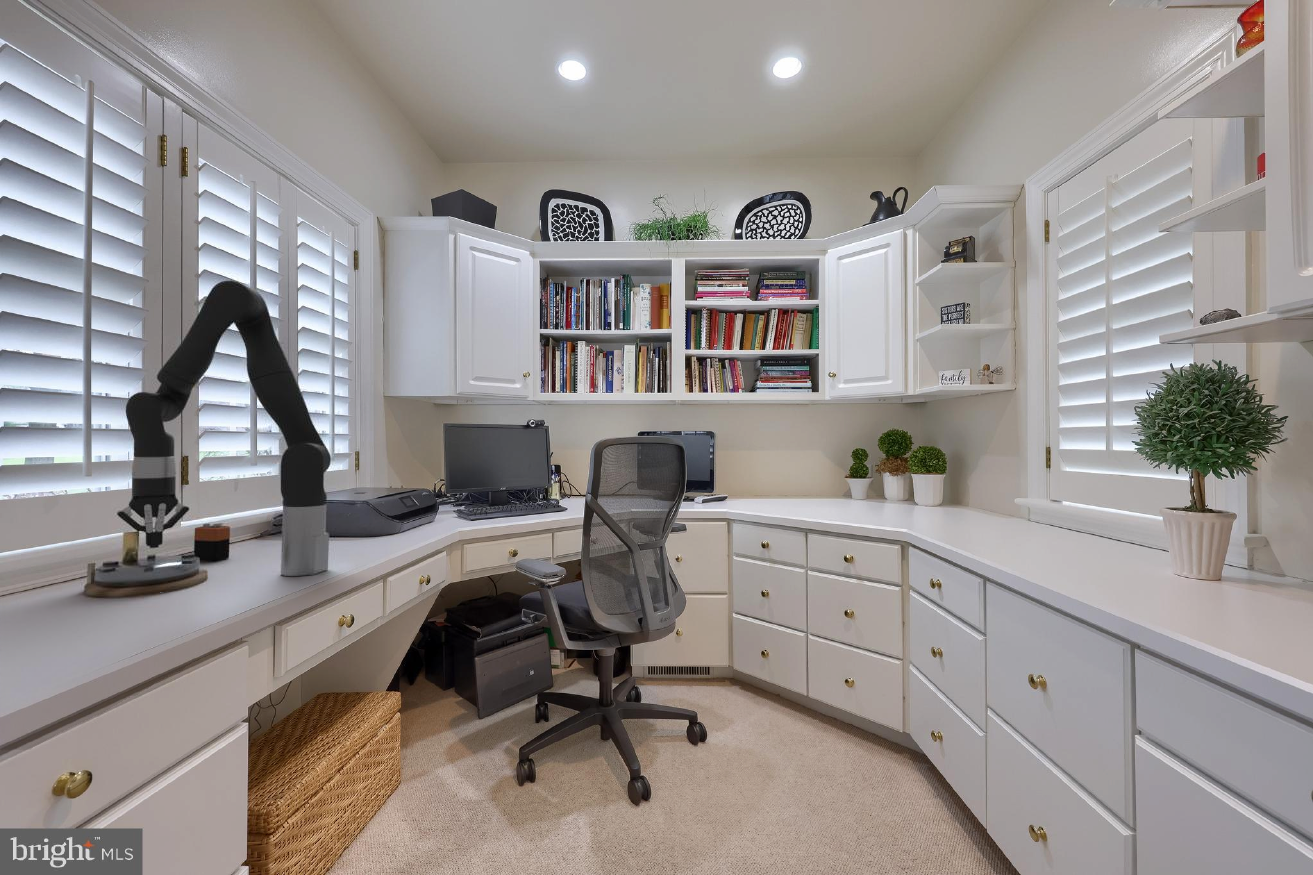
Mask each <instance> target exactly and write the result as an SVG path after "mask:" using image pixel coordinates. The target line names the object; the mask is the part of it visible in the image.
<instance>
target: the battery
mask: <svg viewBox="0 0 1313 875" xmlns="http://www.w3.org/2000/svg"><path fill="white" fill-rule="evenodd" d="M230 533H231V527H230V526H229V525H224V523H221V522H219V523H212V524H211V523H203V524H202V526H198V527H197V526H196V527H194V541H193V542H194V543H193V544H194V545H193V554H195V557H198V558H200V562H211V561H212V562H215V563H216V562H219V561H224V560H228V559H229V558H230V535H231V534H230Z"/></svg>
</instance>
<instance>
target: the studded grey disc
mask: <svg viewBox="0 0 1313 875" xmlns="http://www.w3.org/2000/svg"><path fill="white" fill-rule="evenodd" d="M139 542H140V531H136V530H133V531H132V530H131V531H123V533H122V552H121V553H122V556H121V559H122V560H121V561H120V560H119V561H118V560H115V561H114V560H113V561H111V560H108V561H105V562H102V565H100V566H97V568H96V567H95V585H97V586H101V587H133V586H144V585H152V584H159V583H165V582H171V581H176V580H180V579H184V578H188V577H191V576H194V575H196V574H198V573H199V568H201V567H200V562H201V561H200V558H198V557H195V554H194V553H188V554H187V553H185V554H181V555H163V556H157V554H156V553H155V554H147V556H146V557H140V558H139V548H140V543H139Z"/></svg>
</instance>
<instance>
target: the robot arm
mask: <svg viewBox="0 0 1313 875" xmlns="http://www.w3.org/2000/svg"><path fill="white" fill-rule="evenodd" d="M233 324H234V325H235V327H236V329H237V331H238V332H239V334H240V337H241V339H242V341H243V343H244V346H245V353H246V373H247V377H248V379H249V381H250V382H249V383H250V384H251V386H252V388H253V391H254V394H255V396H256V397H257V399H258V402H259V403H260V404H261V405H262V408H264V410H265V411H266V413H267V415H269V416H270V418H271V419H272V420H273V421H274V423H275V425H277V427H278V428H279V430H280V432H281V433H282V436H283V439H284V441H285V443H286V446H287V448H286V449H285V450H284V451H283V453H282V457H281V458H280V460H281V461H280V493H281V497H282V522H281V523H282V524H281V525H282V526H281V552H280V553H281V554H280V560H281V561H280V575H281V576H286V577H300V576H308V575H310V576H314V575H317V574H319V573H322V572H325V571H326V570H329V550H330V548H329V546H330V534H329V532H327V531H326V529H327V528H326V524H327V523H326V522H327V500H328V499H327V498H328V497H327V493H326V490H325V486H324V484H325V483H324V479H325V478H324V476H325V475H324V474H325V472H327V471H328V470H329V467H330V465H331V460H332V458H331V454H330V451H329V449H328V448H327V446H326V444H325V443H324V441H323V439H322V438H321V436H320V434H319V433H318V430H317V429H316V427H315V424H314V423H313V420H312V418H311V415H310V413H309V410H308V406H307V403H306V401H305V399H304V396H303V394H302V390H301V389H300V386H299V383H298V381H297V378H296V375H295V373H294V371H293V369H292V367H291V366H290V364H289V361H288V358H287V356H286V354H285V351H284V350H283V347H282V346H281V344H280V342H279V339H278V336H277V335H276V332H275V328H274V325H273V323H272V318H271V314H270V312H269V309H268V305H267V302H266V301H265V298H264V297H263V295H261V293H259V292H258V291H257V290H255V289H253V288H252V287H250V286H247V285H245V284H243V283H241V282H239V281H236V280H223V281H220V282H218V283H216V284H215V285H214V286H213V287H212V288H211V290H209V293H208V295H207V296H206V299H204V302H203V305H202V306H201V308H200V310H199V312H198V313H197V316H196V318H195V320H194V321H193V323H192V324H191V325H192V326H190V328H189V330H188V332H187V333H186V334H185V337H184V339H183V340H182V342H181V343H180V344H179V345H178V347H177V348H176V349H175V350H174V352H173V353H172V355H171V356H170V357H169V359H168V360H167V361H166V362H165V363H164V365H163V366H162V367H161V368H160V370H159V371H158V373H157V375H156V379H157V381H158V382H159V383H160V384H159V387H158V389H157V390H156V392H151V391H139V392H136V393H134V394H133V395H131V396H130V398H128V400H127V402H126V405H125V416H126V419H127V422H128V426H129V430H130V434H131V436H132V437H133V461H132V466H131V499H130V501H129V502H128V506H126V507H124V508H123V509H121V510H118V511H116V515H117V516H118V517H119V518H120V519H122V520H123V521H124V522H125V523H127V525H129V526H130V527H131V528H133V529H134V531H139V532H143V533H145V544H146V546H147V547H149V548H150V549H156V548H160V547H159V546H161V545H163V539H164V538H163V532H164V531H165V530H169V529H172V528H173V527H174V526H175V525H176V524H177V523H178V522H179V521H180V520H181V519H182V518H183V517H184V516H185V514H187V513H188V512H189V510H190V507H189V506H187V505H184V504H181V503H179V500H178V498H177V497H176V495H177V494H176V486H177V485H176V484H177V483H176V482H177V480H176V479H177V478H176V477H177V476H176V475H177V470H176V469H177V468H176V467H177V466H176V460H175V437H174V435H173V434H171V433H169V432H167V431H166V430H165V426H164V423H168V422H171V421H174V420H175V419H176V418H177V417H178V416H180V415H181V413H182V412H183V411H184V409H185V408H186V406H187V403H188V401H189V399H190V396H191V394H192V390H193V389H194V388H195V386H196V385H197V384H198V383H199V382H200V380H201V378H202V377H203V376H204V375H205V374H206V373H207V371H208V369H209V368H210V366H211V365H212V363H213V360H214V357H215V353H216V350H217V348H218V344H219V342H220V340H221V338H222V337H223V335H224V334H225V332H226V331H227V330H228V329H229V327H231V326H232V325H233ZM173 510H174V512H175V513H174V514H173V515H172V516H171V517H170V518H169V519H168V521H166V522H165V517H166V516H168V515H169V514H170V513H172V511H173ZM132 511H133V512H134V513H136V514H137V515H138V516H139V517H140V518H142V519H143V523H144V525H142V524H140V523H138V522H137V520H135V519H133V518H132V516H133V513H132ZM153 518H155V524H154V522H153V521H154V520H153ZM164 522H165V523H164Z"/></svg>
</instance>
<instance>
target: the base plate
mask: <svg viewBox="0 0 1313 875" xmlns="http://www.w3.org/2000/svg"><path fill="white" fill-rule="evenodd" d="M95 569H96V562H89V563H87V569H86V571H87V573H86V574H87V575H86V584H85V585H84V588H83V595H85V596H86V597H89V598H97V599H98V598H99V599H112V598H114V599H115V598H116V599H117V597H120V598H133V597H139V596H140V595H143V596H150V595H149V594H151V595H156V594H157V593H158V594H161V593H160V592H164V593H168V592H167V591H169V592H173V591H172V590H174V591H179V590H182V589H181V588H184V589H186V588H187V589H188V588H190V587H189V586H191V587H194V586H197V585H200V584H202V583H204V582H206V581H207V580H208V574H209V573H208V570H207V569H204V568H201V567H199V573H198V574H196V575H194V576H191V577H188V578H184V579H180V580H176V581H171V582H165V583H159V584H152V585H144V586H133V587H101V586H97V585H95ZM199 583H200V584H199ZM193 585H194V586H193ZM178 589H179V590H178ZM158 594H157V595H158ZM138 595H139V596H138ZM140 597H141V596H140Z"/></svg>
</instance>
